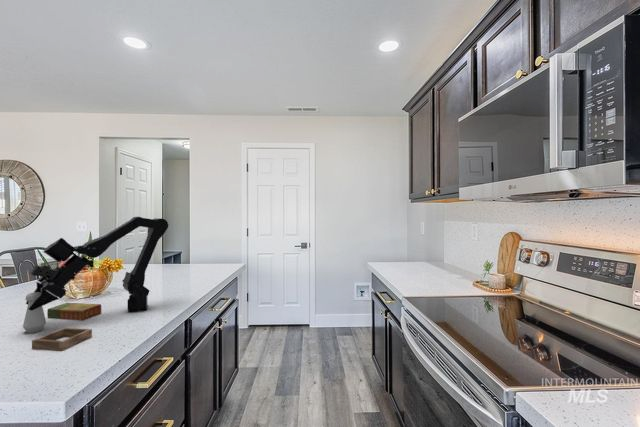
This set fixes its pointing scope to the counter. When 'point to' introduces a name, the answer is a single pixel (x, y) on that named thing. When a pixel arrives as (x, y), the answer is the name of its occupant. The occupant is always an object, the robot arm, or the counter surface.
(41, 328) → the salt shaker
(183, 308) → the counter surface
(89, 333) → the walnut frame
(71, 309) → the carton
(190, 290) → the counter surface
